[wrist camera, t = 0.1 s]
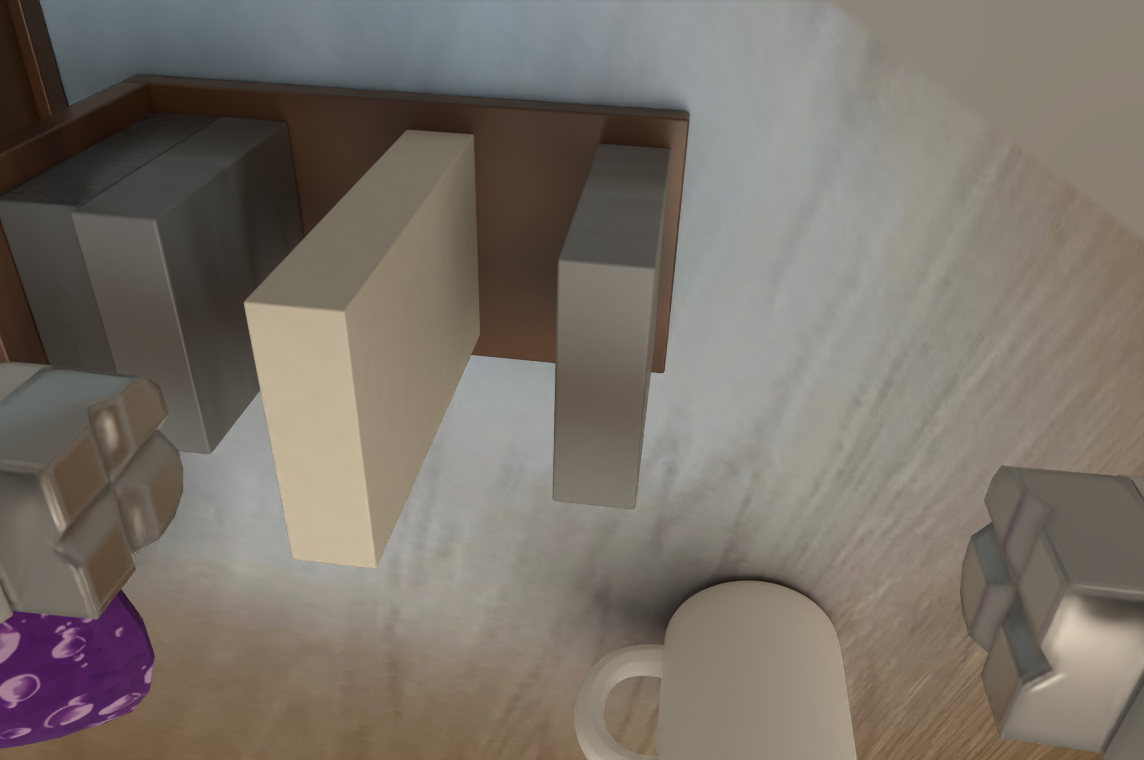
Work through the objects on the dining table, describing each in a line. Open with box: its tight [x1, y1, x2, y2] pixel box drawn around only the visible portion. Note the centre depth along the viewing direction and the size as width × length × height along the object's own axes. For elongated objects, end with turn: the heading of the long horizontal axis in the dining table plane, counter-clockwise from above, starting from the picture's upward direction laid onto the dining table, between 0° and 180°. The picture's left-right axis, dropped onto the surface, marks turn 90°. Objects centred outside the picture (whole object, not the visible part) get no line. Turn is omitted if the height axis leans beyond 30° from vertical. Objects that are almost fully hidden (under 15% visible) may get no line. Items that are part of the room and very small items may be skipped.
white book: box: [244, 130, 480, 569], centre depth 28 cm, size 8×2×13 cm, turn 178°
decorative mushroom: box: [0, 589, 155, 749], centre depth 38 cm, size 12×12×15 cm
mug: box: [574, 581, 857, 760], centre depth 40 cm, size 12×8×10 cm
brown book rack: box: [0, 75, 690, 509], centre depth 30 cm, size 10×20×11 cm, turn 88°
